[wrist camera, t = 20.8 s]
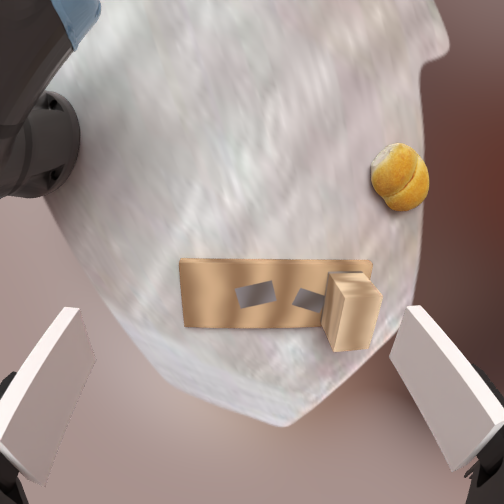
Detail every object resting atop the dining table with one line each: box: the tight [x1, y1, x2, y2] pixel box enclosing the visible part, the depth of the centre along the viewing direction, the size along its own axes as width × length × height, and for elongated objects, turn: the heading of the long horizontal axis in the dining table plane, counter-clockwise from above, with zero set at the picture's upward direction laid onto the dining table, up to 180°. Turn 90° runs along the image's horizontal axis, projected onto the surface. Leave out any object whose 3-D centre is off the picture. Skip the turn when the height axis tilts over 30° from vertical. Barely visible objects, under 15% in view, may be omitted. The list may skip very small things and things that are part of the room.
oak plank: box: [179, 258, 373, 328], centre depth 41 cm, size 26×10×2 cm, turn 88°
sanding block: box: [320, 271, 383, 352], centre depth 38 cm, size 5×8×7 cm, turn 178°
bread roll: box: [371, 143, 429, 211], centre depth 35 cm, size 8×9×4 cm
